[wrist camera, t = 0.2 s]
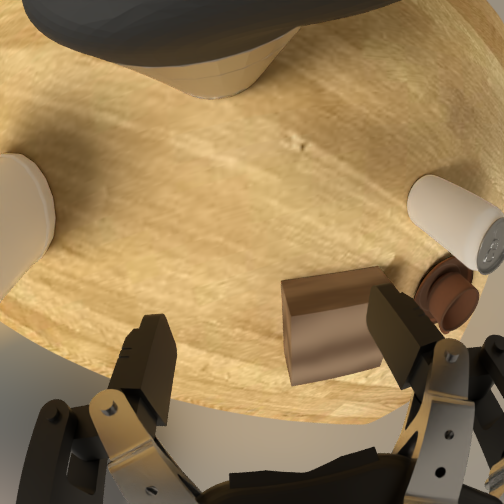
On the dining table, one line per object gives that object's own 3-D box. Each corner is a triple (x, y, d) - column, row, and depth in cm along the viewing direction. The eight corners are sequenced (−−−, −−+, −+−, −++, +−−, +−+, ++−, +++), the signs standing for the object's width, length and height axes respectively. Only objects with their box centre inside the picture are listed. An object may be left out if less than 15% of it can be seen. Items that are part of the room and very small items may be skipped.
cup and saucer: (465, 291, 36) (486, 313, 30) (411, 329, 38) (429, 355, 32) (464, 236, 30) (492, 257, 25) (401, 277, 32) (425, 306, 27)
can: (449, 179, 26) (521, 218, 15) (436, 227, 29) (498, 278, 18) (412, 168, 25) (491, 207, 15) (398, 222, 28) (464, 279, 18)
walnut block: (280, 280, 31) (291, 316, 25) (378, 266, 31) (401, 295, 26) (284, 351, 36) (291, 386, 31) (364, 336, 37) (379, 366, 31)
